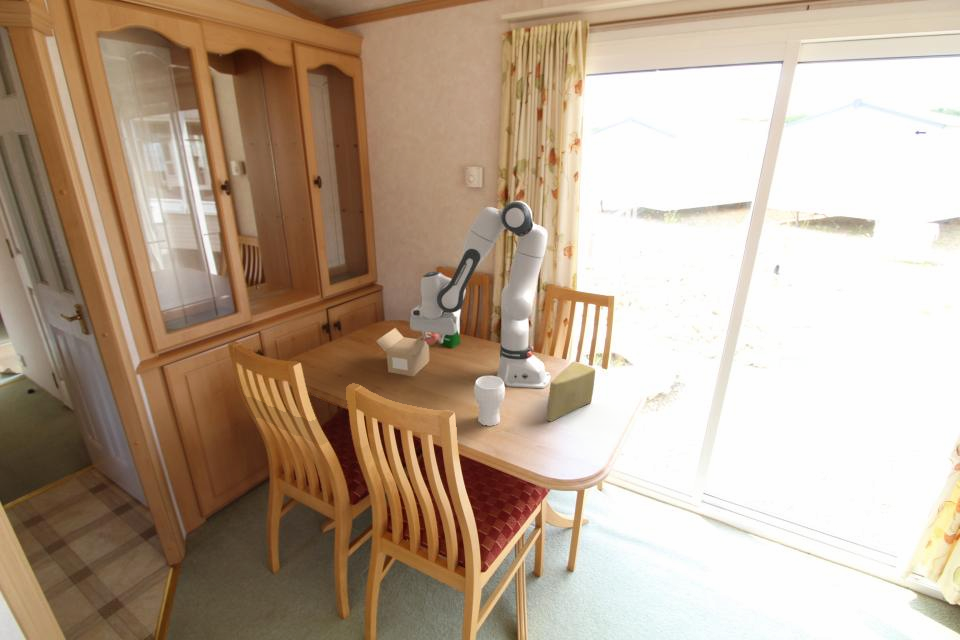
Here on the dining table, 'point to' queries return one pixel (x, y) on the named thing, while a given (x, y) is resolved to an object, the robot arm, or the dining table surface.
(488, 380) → the cup
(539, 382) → the robot arm
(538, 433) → the dining table surface
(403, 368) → the carton
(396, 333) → the open flap
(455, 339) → the milk carton
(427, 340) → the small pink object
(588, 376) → the cheese
